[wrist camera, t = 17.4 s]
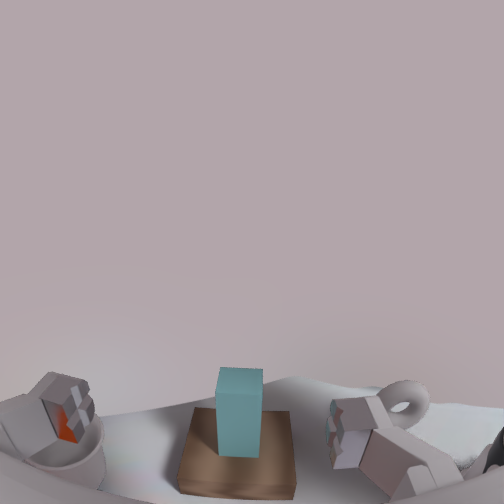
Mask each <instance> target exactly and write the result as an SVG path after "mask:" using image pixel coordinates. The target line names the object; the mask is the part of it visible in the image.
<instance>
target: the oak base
mask: <svg viewBox="0 0 504 504" xmlns="http://www.w3.org/2000/svg"><path fill="white" fill-rule="evenodd" d="M177 480H178V484H179V488H180V492H181V494H186V495H194V496H203V497H213V498H226V499H243V500H293V497H294V493H295V489H296V484H297V483H296V472H295V462H294V452H293V443H292V433H291V423H290V414H289V411H262V414H261V430H260V446H259V458H252V457H231V456H219V451H218V434H217V417H216V409H210V408H198V407H195V409H194V413H193V417H192V420H191V424H190V428H189V432H188V436H187V440H186V444H185V447H184V451H183V455H182V459H181V463H180V467H179V471H178V475H177Z"/></svg>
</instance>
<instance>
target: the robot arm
mask: <svg viewBox="0 0 504 504" xmlns="http://www.w3.org/2000/svg"><path fill="white" fill-rule="evenodd" d="M89 390H90V389H89V386H88V382H87V381H85V380H83V379H79V378H75V377H70V376H67V375H63V374H58V373H55V372H48V373H47V374H46V375H45V376H44V377H43V378H42V379H41V380H40V381H39V382H38V384H37V385H36V386H35V387H34V388H33V389H32V390H31V391H30V392H29V393H28V394H27V395H26V394H22V395H19V396H16V397H14V398H11V399H8V400H5V401H2V402H0V504H154V503H149V502H144V501H139V500H135V499H130V498H126V497H122V496H118V495H114V494H111V493H107V492H104V491H100V490H97V489H93V488H90V487H87V486H84V485H81V484H78V483H75V482H72V481H69V480H66V479H63V478H61V477H58V476H55V475H53V474H50V473H48V472H45V471H43V470H40V469H38V468H36V467H33V466H31V465H29V464H27V463H24V462H22V461H23V460H25V459H27V458H28V457H30V456H32V455H33V454H35V453H37V452H38V451H40V450H42V449H43V448H45V447H47V446H48V445H50V444H52V443H53V442H55V441H56V440H58V438H59V439H62V440H65V441H69V442H72V443H76V444H78V443H79V441H80V440H81V438H82V437H83V435H84V433H85V429H84V427H85V426H87V425H89V424H90V423H91V422H92V420H93V417H94V412H95V407H94V403H93V399H92V398H91V397H90V396H89V395H88V392H89ZM330 411H331V416H330V417H329V418H328V419H327V424H326V440H327V445H328V446H330V447H331V451H330V459H331V463H332V467H333V469H345V468H356V467H359V469H360V470H361V471H362V472H363V473H364V474H365V475H366V476H367V477H368V478H369V479H371V480H372V481H373V482H374V483H375V484H376V485H377V486H378V487H379V488H381V489H382V490H383V491H384V492H385V493H386V494H387V495H388V496H390V497H391V499H390V500H389V502H387V503H382V504H504V427H503V429H502V430H501V431H500V432H499V434H498V435H497V437H496V438H495V440H494V442H493V444H489V445H487V446H486V447H485V449H484V450H483V451H482V453H481V454H480V455H479V457H478V458H477V459H476V460H475V462H474V463H473V464H472V465H471V467H470V468H465V469H463V470H462V471H461V472H460V471H459V470H458V468H457V466H456V464H455V462H454V461H453V459H452V457H451V456H450V455H448V454H446V453H444V452H442V451H440V450H439V449H437V448H435V447H433V446H431V445H430V444H428V443H426V442H424V441H423V440H421V439H419V438H417V437H416V436H414V435H412V434H410V433H409V432H407V431H405V430H404V429H402V428H400V427H398V426H393V424H392V422H391V420H390V418H389V416H388V414H387V412H386V410H385V408H384V406H383V404H382V402H381V400H380V398H379V397H378V396H377V395H376V396H367V397H360V398H347V399H333V400H332V402H331V406H330Z"/></svg>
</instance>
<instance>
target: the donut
mask: <svg viewBox="0 0 504 504" xmlns="http://www.w3.org/2000/svg"><path fill="white" fill-rule="evenodd" d="M377 396H378V397H379V398H380V400H381V402H382V404H383V406H384V408H385V410H386V412H387V414H388V416H389V418H390V420H391V422H392V424H393V426H398V427H400V428H402V429H404V430H405V429H408V428H410V427H412V426H413V425H415V424H416V423H418V422H419V421H420V420H421V419H422V418H423V417H424V415H425V414H426V412H427V410H428V408H429V403H430V397H429V392H428V390H427V389H426V388H425V387H424V386H423V384H420V383H418V382H416V381H410V380H404V381H398V382H395V383H393V384H390V385H388V386H387V387H385V388H384V389H382V390H381V391H380V392H379V393H378V394H377ZM401 402H409V403H410V404H409V405H408V407H407V408H406V409H404V410H402V411H400V412H396V413H394V412H390V410H391V409H392V408H393V407H394V406H395V405H397V404H399V403H401Z"/></svg>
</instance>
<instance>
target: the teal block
mask: <svg viewBox="0 0 504 504" xmlns="http://www.w3.org/2000/svg"><path fill="white" fill-rule="evenodd" d="M215 394H216V395H215V396H216V417H217V434H218V451H219V456H231V457H252V458H259V446H260V430H261V414H262V397H263V369H248V368H227V367H221V368H220V372H219V377H218V382H217V387H216V391H215Z"/></svg>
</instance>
